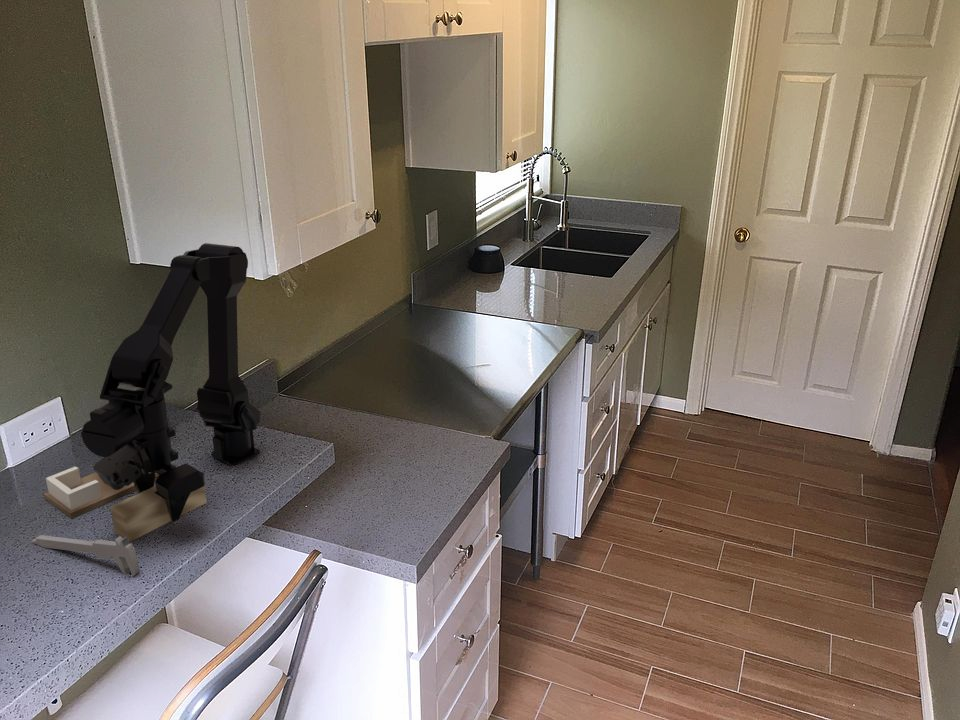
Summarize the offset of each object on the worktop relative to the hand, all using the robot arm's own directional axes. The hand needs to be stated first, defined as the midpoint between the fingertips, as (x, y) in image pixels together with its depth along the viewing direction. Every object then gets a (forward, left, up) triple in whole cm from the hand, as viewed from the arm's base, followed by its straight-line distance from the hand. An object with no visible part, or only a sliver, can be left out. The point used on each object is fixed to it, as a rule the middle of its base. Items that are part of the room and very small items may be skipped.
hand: (161, 511), depth 126 cm
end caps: (0, -15, -1) cm, 15 cm away
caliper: (+13, +1, -2) cm, 13 cm away
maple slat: (0, 0, -1) cm, 1 cm away
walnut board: (0, -15, -1) cm, 15 cm away
